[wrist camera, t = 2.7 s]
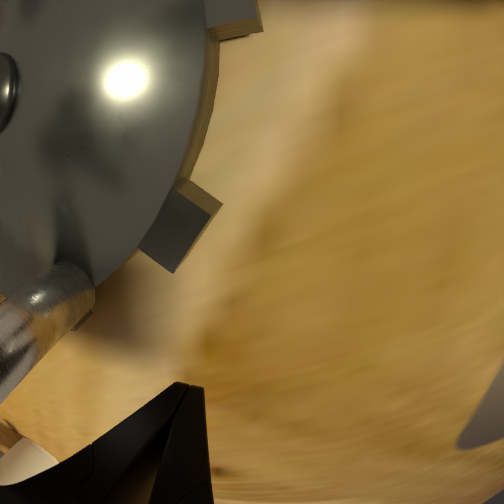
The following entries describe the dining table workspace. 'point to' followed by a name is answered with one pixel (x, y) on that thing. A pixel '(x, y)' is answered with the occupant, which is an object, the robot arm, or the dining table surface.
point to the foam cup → (24, 462)
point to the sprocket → (99, 151)
